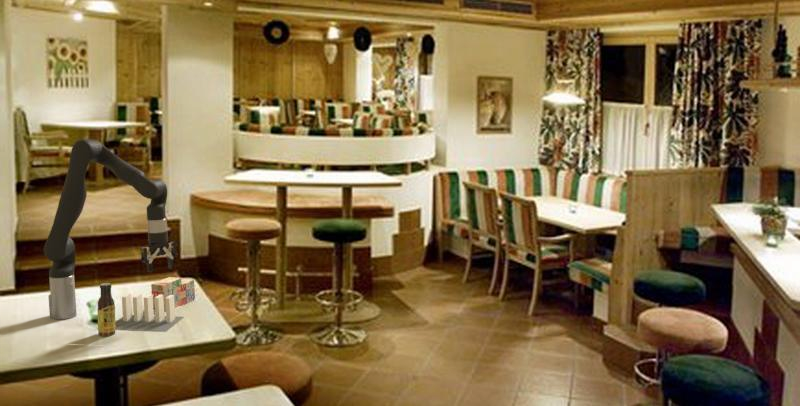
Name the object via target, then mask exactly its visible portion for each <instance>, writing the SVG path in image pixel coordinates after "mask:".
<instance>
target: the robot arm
mask: <svg viewBox="0 0 800 406" xmlns="http://www.w3.org/2000/svg"><path fill="white" fill-rule="evenodd" d="M70 151H71V152H70V156H69V162H68V170H67V173H66V176H65V181H64V184H63V187H62V190H61V194H60V197H59V200H58V205H57V209H56V212H55V216H54V220H53V222H52V223H53V224H52V226H51V230H50V231H49V234H48V236H47V239H46V241H45V243H44V246H43V253H44V256H45V257H46V259H47V260H48V261H51V262H52V265H51V267H50V268H49V270H48V274H49V276H48V277H49V279H48V280H49V290H50V294H48V307H49V308H48V309H49V318H50V319H53V320H68V319H72V318H74V317H76V316H77V300H76V299H77V298H76V286H75V285H76V284H75V268H76V247H75V242H74V240H73V239H72V238H71V237H70V234H71V231H72V229H73V227H74V225H75V224H76V222H77V220H78V219H79V218H80V216H81V214H82V212H83V209H84V207H85V202H86V199H87V194H88V193H87V186H86V185H87V184H86V173H87V170H88V167H89V164H90V163H97V164H100V165H102V166H104V167H105V168H107V169H108V170H110V171H111V172H112V173H113V174H114V176H115V177H116V178H118V179H119V180H120V181H122V182H124V183H125V184H127V185H129V186H131V188H132V187H133V189H134V190H135V191H137V192H138V193H139V194H140V195H141V196H142V197H144V198H146V199H150V203H149V204H148V205H147V206H146V221H147V222H146V228H147V242H148V246H146V247H143V246H141V248H140V253H141V255H140V259H141V260H140V261H141V263H144V264H146V268H147V269H146V270H147V272H148V273H150V274H152V273H153V272H154V269H153V261H154V260H155V258H157V257H160V256H165V257H166V258H167V268H168V269H169V270H171V269H173V267H174V259H175V258H177V257H178V251H177V243H176V242H174V241H170V242H169V233H168V232H169V231H168V223H167V215H166V213H167V212H166V205H167V197H168V186H167V184H166V183H165V181H164V180H163V179H159V178H156V179H152V180H150V179H148V178H147V177H146V175H147V174H145V172H143V171H142V170H140V169H139V168H137V167H135V166H134V165H131V164H130V163H128V162H127V161H125V160H123V159H121V158H120V157H119V156H118V155H116V154H115V153H114V152H112V151H111V150H110V149H109V148H107V147H106V146H104V144H102V143H101V142H100V141H99V140H97V139H93V138H92V139H91V138H88V139H86V138H85V139H78V140H77V141H75V142H74V143H73V145H72V148H71V150H70ZM169 248H170V251H169V250H168V249H169ZM148 252H149V253H148Z"/></svg>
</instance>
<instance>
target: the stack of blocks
mask: <svg viewBox="0 0 800 406" xmlns="http://www.w3.org/2000/svg"><path fill="white" fill-rule="evenodd" d="M194 280H195V279H187V278H182V277H172V276H169V277H166V278H162V279H161V280H158V281H157V282H156V281H155V282H153V283H150V284H151V285H150V286H151V291H150V292H151V294H153V312H155V299H154V298H155V297H157V296H158V295H163V297H164V313H166V301H165V298H166V297H168V296H169V295H174V303H175V309H176V308H177V307H181V306H184V305H186V304H189V303H191V302H193V301H195V300H196V296H195V293H196V292H195V291H196V289H195V281H194ZM194 299H195V300H194ZM192 300H193V301H192ZM190 301H191V302H190ZM188 302H189V303H188ZM185 303H186V304H185ZM183 304H184V305H183Z"/></svg>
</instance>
